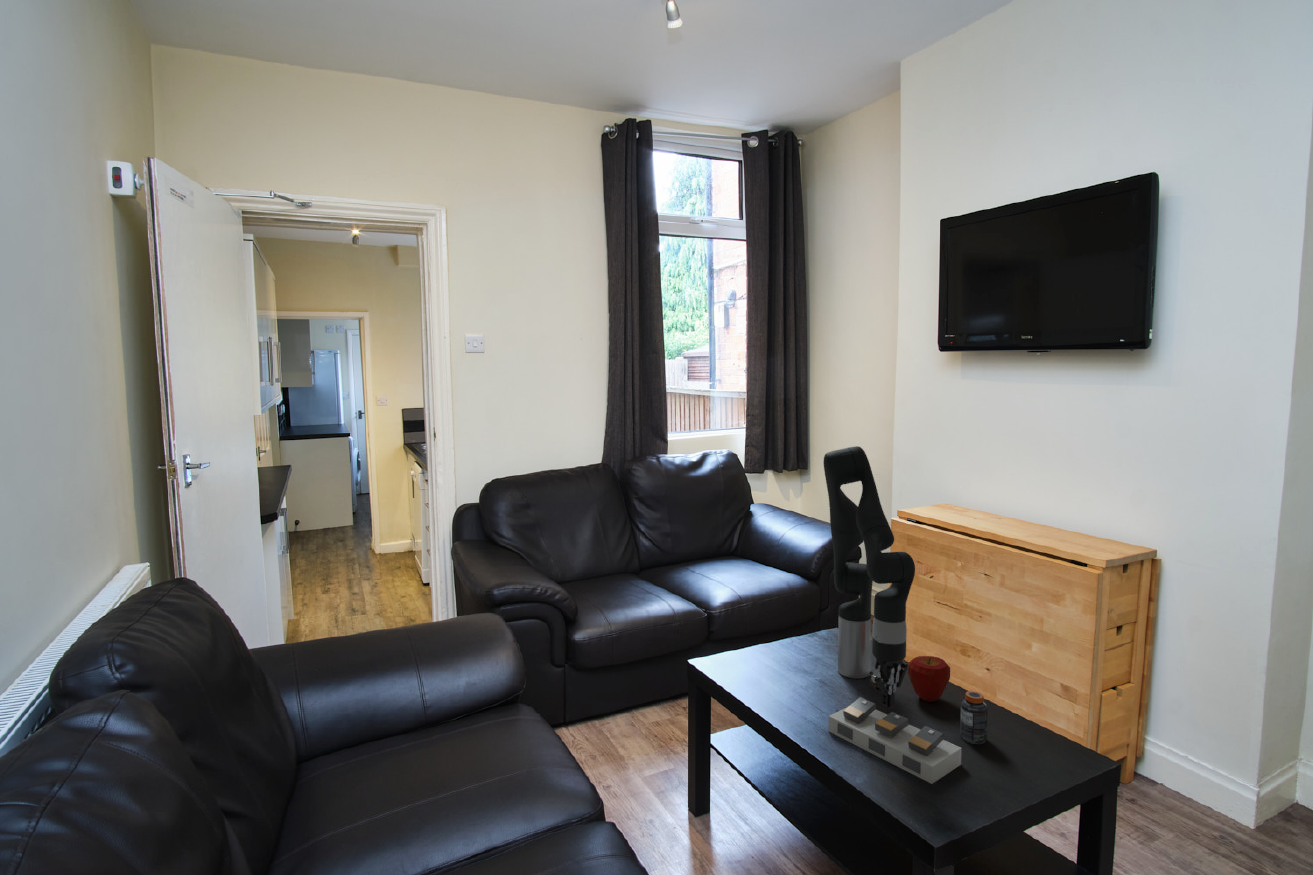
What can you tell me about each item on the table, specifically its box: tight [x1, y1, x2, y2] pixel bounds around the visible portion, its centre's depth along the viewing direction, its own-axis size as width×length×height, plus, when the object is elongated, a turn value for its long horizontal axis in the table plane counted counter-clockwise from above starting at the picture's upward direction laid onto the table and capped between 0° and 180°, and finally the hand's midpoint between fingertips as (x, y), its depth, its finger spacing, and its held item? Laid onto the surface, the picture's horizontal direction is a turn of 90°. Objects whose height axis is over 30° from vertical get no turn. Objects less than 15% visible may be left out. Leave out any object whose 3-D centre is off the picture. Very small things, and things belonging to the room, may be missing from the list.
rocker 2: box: [875, 711, 910, 737], centre depth 163 cm, size 7×4×2 cm, turn 127°
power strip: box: [828, 707, 962, 785], centre depth 164 cm, size 12×30×4 cm, turn 37°
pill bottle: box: [959, 690, 989, 745], centre depth 166 cm, size 6×6×11 cm
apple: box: [907, 655, 951, 703], centre depth 187 cm, size 11×11×12 cm
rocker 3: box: [908, 725, 944, 756], centre depth 156 cm, size 7×4×2 cm, turn 127°
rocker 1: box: [843, 696, 877, 724], centre depth 170 cm, size 7×4×2 cm, turn 127°
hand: (887, 706), depth 161 cm, fingers closed
